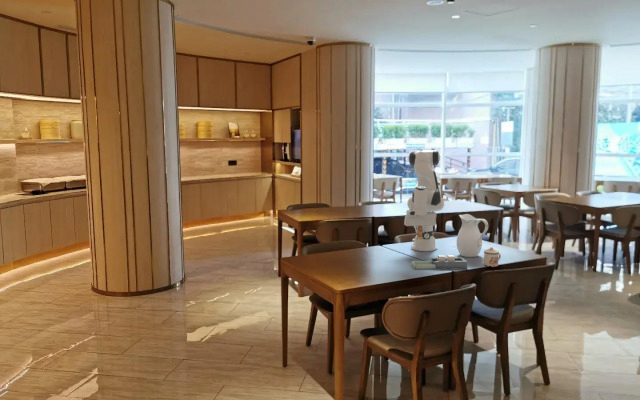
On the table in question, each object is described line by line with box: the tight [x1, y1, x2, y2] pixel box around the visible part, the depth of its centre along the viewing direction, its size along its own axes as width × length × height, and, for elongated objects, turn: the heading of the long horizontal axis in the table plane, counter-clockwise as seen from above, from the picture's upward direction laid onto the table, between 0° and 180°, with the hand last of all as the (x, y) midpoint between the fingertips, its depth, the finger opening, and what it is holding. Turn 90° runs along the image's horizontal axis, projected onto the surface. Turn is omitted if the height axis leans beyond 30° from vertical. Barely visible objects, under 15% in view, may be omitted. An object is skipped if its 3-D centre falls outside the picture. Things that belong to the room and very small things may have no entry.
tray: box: [411, 260, 436, 270], centre depth 320 cm, size 10×13×2 cm
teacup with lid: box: [483, 246, 501, 268], centre depth 323 cm, size 12×9×12 cm
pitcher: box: [456, 213, 489, 258], centre depth 344 cm, size 24×17×28 cm
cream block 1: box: [437, 254, 447, 261], centre depth 319 cm, size 4×4×4 cm
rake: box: [417, 226, 423, 241], centre depth 327 cm, size 5×3×10 cm, turn 1°
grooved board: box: [431, 256, 468, 270], centre depth 320 cm, size 10×20×4 cm, turn 91°
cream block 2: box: [446, 254, 456, 261], centre depth 320 cm, size 4×4×4 cm
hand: (419, 232), depth 327 cm, fingers closed on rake, 2 cm apart
